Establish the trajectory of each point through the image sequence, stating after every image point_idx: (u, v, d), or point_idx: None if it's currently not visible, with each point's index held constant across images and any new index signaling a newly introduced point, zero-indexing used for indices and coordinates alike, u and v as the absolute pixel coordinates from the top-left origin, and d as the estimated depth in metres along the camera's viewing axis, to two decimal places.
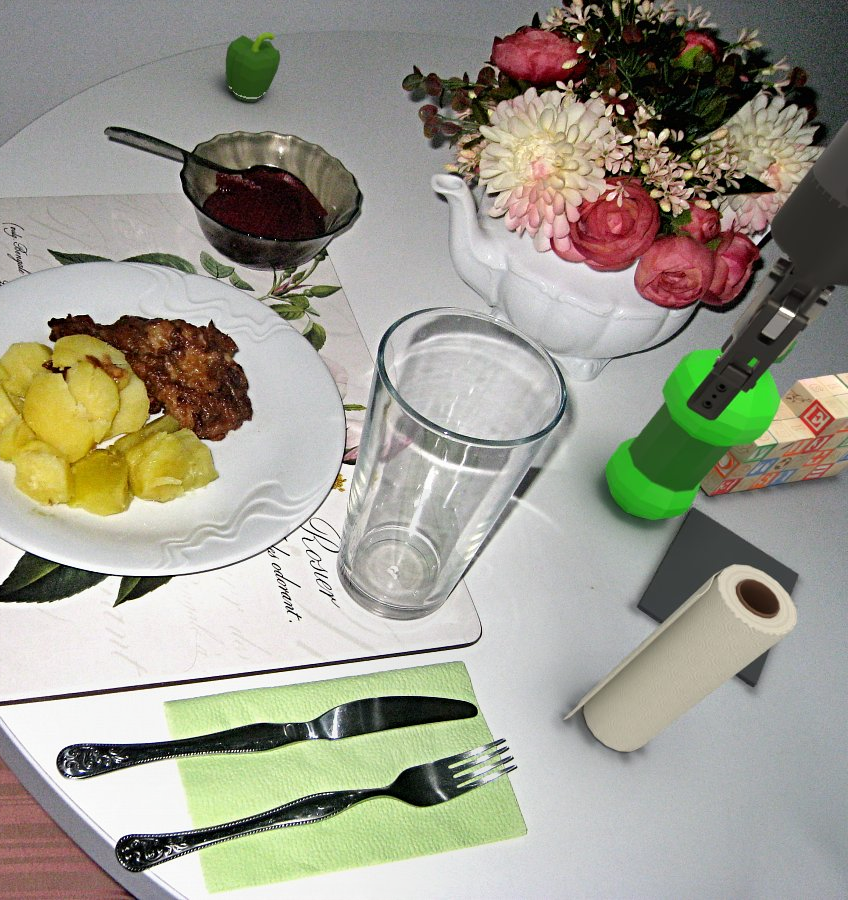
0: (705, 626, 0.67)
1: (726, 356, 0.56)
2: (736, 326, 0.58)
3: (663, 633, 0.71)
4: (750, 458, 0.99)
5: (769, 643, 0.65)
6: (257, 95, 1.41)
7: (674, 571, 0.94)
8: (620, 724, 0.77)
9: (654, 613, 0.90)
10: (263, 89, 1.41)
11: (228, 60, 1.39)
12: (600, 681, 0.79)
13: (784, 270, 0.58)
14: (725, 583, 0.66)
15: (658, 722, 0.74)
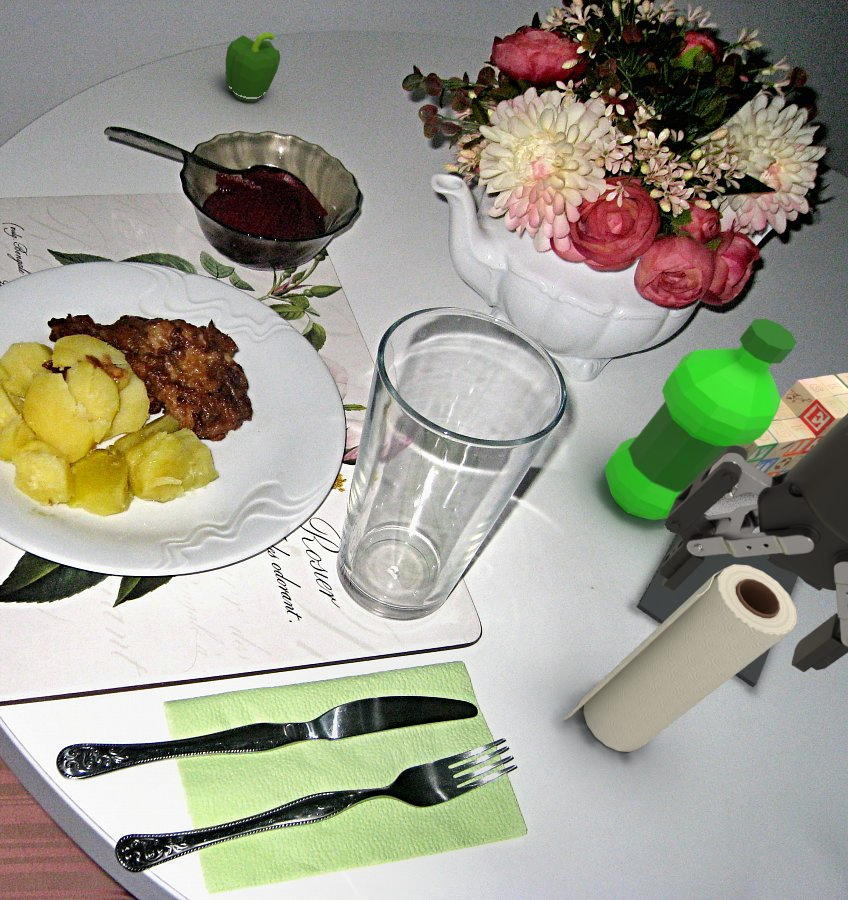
0: (705, 626, 0.67)
1: (687, 487, 0.54)
2: (742, 507, 0.53)
3: (663, 633, 0.71)
4: (750, 458, 0.99)
5: (769, 643, 0.65)
6: (257, 95, 1.41)
7: None
8: (620, 724, 0.77)
9: (654, 613, 0.90)
10: (263, 89, 1.41)
11: (228, 60, 1.39)
12: (600, 681, 0.79)
13: None
14: (725, 583, 0.66)
15: (658, 722, 0.74)
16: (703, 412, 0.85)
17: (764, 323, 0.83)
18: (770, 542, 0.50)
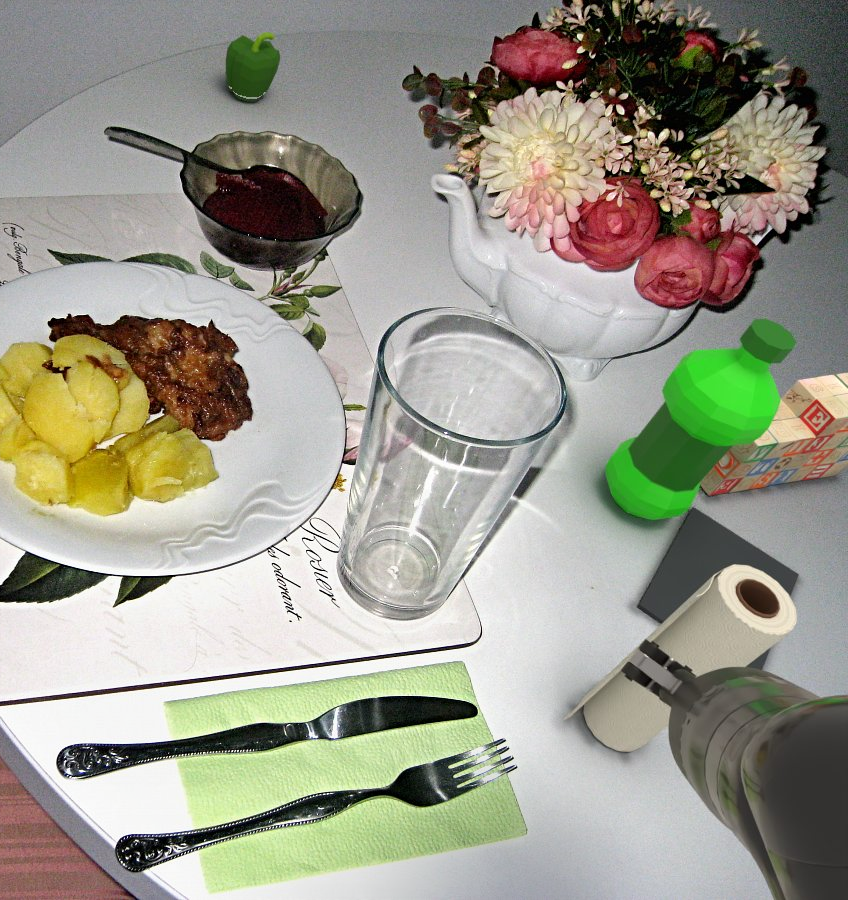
0: (705, 626, 0.67)
1: None
2: None
3: (663, 633, 0.71)
4: (750, 458, 0.99)
5: (769, 643, 0.65)
6: (257, 95, 1.41)
7: (674, 571, 0.94)
8: (620, 724, 0.77)
9: (654, 613, 0.90)
10: (263, 89, 1.41)
11: (228, 60, 1.39)
12: (600, 681, 0.79)
13: None
14: (725, 583, 0.66)
15: (658, 722, 0.74)
16: (703, 412, 0.85)
17: (764, 323, 0.83)
18: None
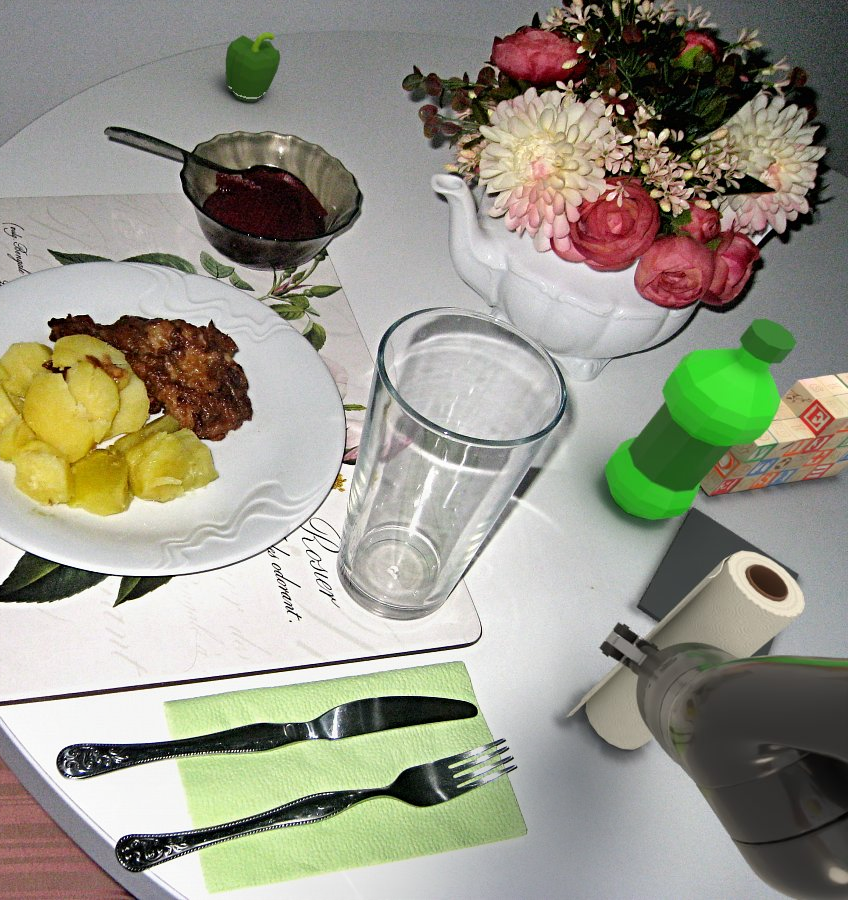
0: (715, 610, 0.67)
1: None
2: None
3: (671, 622, 0.72)
4: (750, 458, 0.99)
5: (779, 626, 0.66)
6: (257, 95, 1.41)
7: (674, 571, 0.94)
8: (624, 719, 0.77)
9: (654, 613, 0.90)
10: (263, 89, 1.41)
11: (228, 60, 1.39)
12: (603, 677, 0.79)
13: None
14: (735, 567, 0.67)
15: None
16: (703, 412, 0.85)
17: (764, 323, 0.83)
18: None
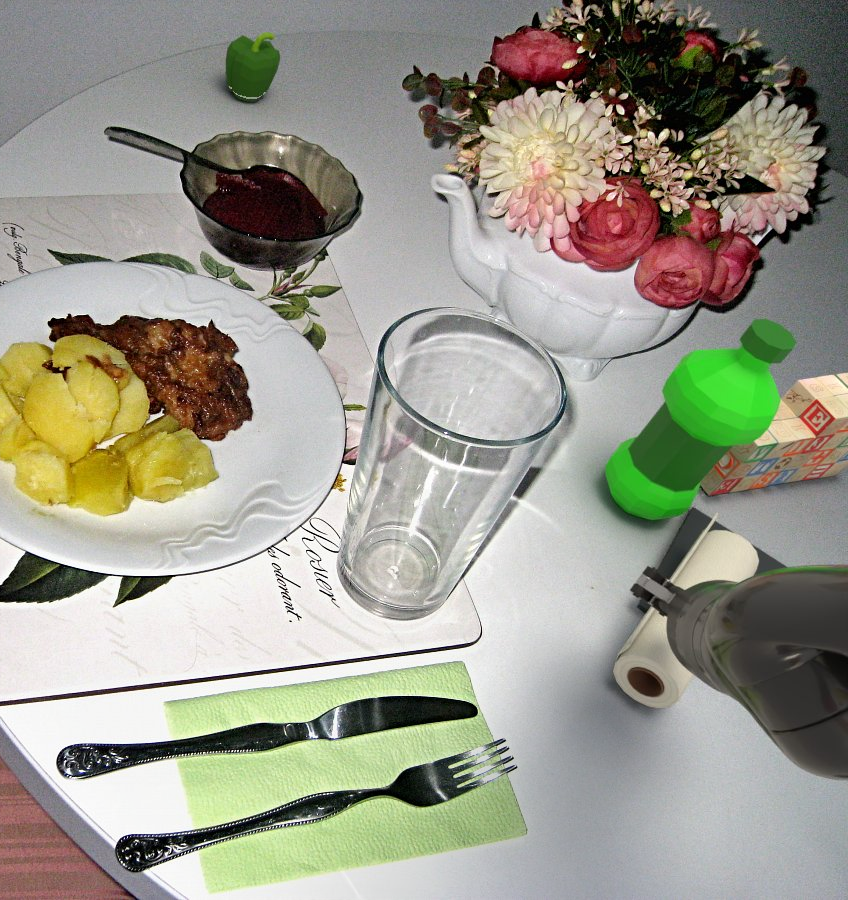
0: (720, 546, 0.90)
1: None
2: None
3: (682, 571, 0.89)
4: (750, 458, 0.99)
5: (754, 566, 0.90)
6: (257, 95, 1.41)
7: (674, 571, 0.94)
8: None
9: None
10: (263, 89, 1.41)
11: (228, 60, 1.39)
12: (636, 628, 0.84)
13: None
14: None
15: None
16: (703, 412, 0.85)
17: (764, 323, 0.83)
18: None
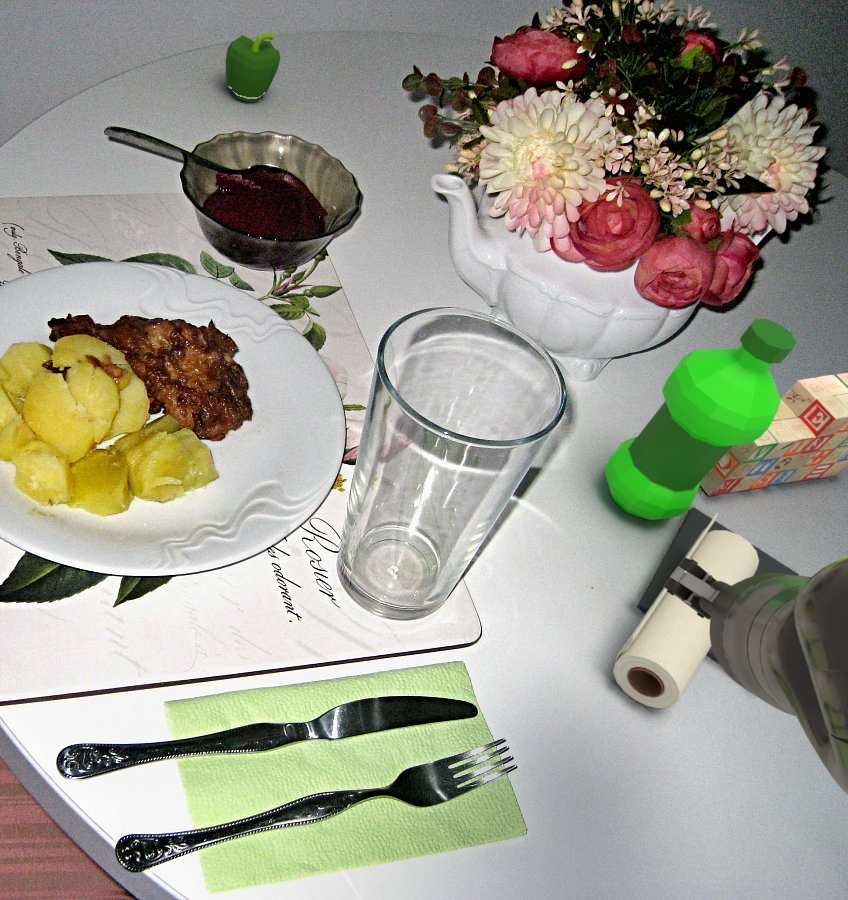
0: (720, 546, 0.90)
1: None
2: None
3: None
4: (750, 458, 0.99)
5: (754, 566, 0.90)
6: (257, 95, 1.41)
7: None
8: (678, 642, 0.81)
9: None
10: (263, 89, 1.41)
11: (228, 60, 1.39)
12: (636, 628, 0.84)
13: None
14: None
15: (703, 641, 0.82)
16: (703, 412, 0.85)
17: (764, 323, 0.83)
18: None
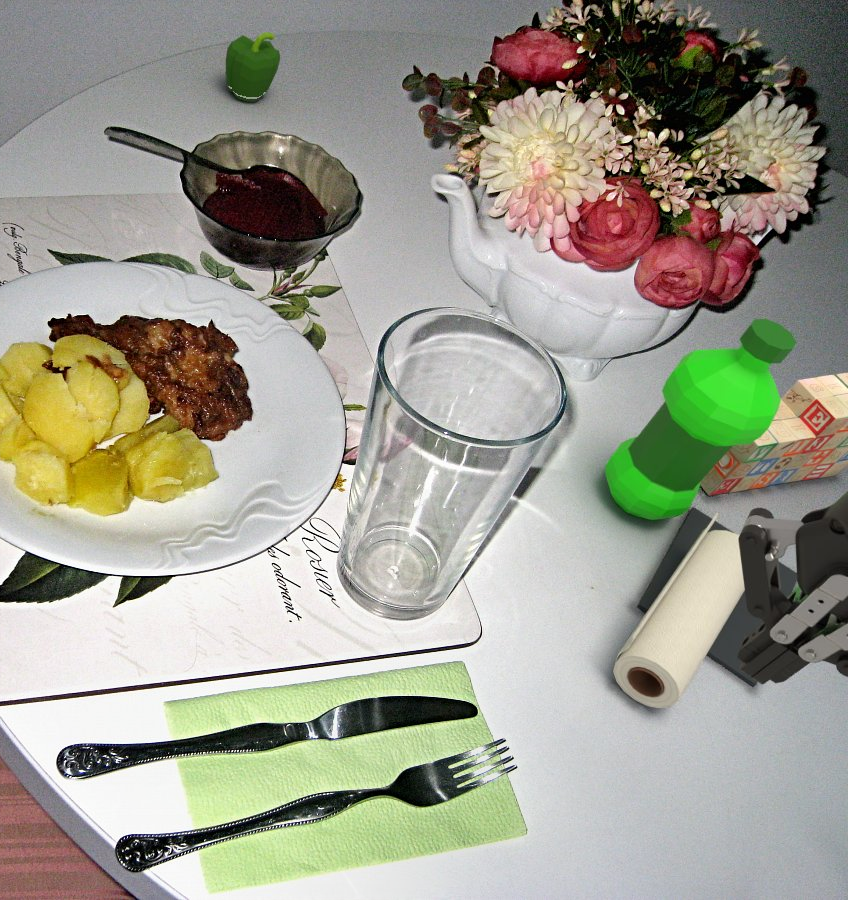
0: (720, 546, 0.90)
1: None
2: None
3: (682, 571, 0.89)
4: (750, 458, 0.99)
5: None
6: (257, 95, 1.41)
7: (674, 571, 0.94)
8: (678, 642, 0.81)
9: None
10: (263, 89, 1.41)
11: (228, 60, 1.39)
12: (636, 628, 0.84)
13: None
14: None
15: (703, 641, 0.82)
16: (703, 412, 0.85)
17: (764, 323, 0.83)
18: (820, 596, 0.47)
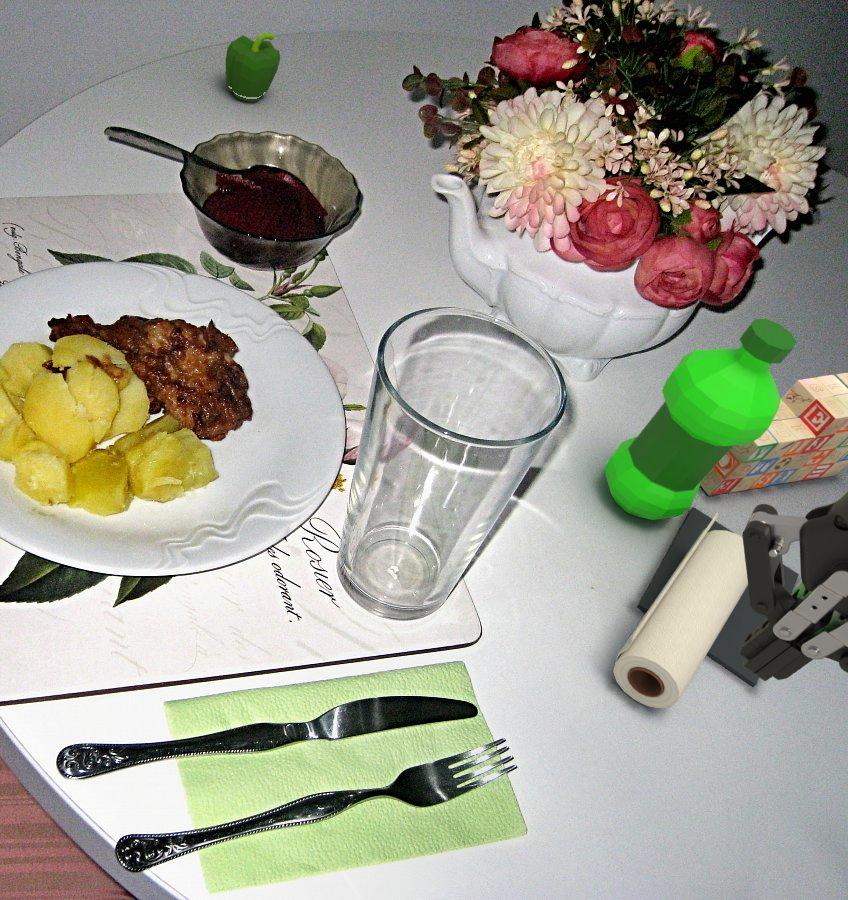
0: (720, 546, 0.90)
1: None
2: None
3: (682, 571, 0.89)
4: (750, 458, 0.99)
5: None
6: (257, 95, 1.41)
7: (674, 571, 0.94)
8: (678, 642, 0.81)
9: None
10: (263, 89, 1.41)
11: (228, 60, 1.39)
12: (636, 628, 0.84)
13: None
14: None
15: (703, 641, 0.82)
16: (703, 412, 0.85)
17: (764, 323, 0.83)
18: (824, 593, 0.47)
